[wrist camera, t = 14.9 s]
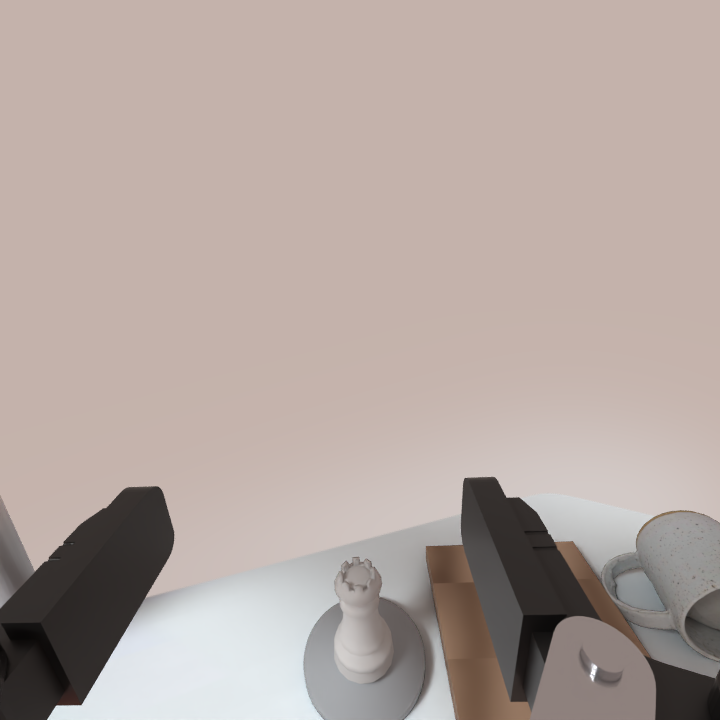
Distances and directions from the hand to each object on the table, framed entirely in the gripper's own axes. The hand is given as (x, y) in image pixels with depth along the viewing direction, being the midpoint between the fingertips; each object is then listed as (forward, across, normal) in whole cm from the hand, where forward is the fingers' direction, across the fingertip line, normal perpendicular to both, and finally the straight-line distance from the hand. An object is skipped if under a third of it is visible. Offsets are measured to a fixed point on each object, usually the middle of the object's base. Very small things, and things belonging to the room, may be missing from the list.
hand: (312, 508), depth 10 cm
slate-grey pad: (+11, 0, +24) cm, 26 cm away
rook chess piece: (+10, 0, +23) cm, 25 cm away
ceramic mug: (+14, -26, +24) cm, 38 cm away
